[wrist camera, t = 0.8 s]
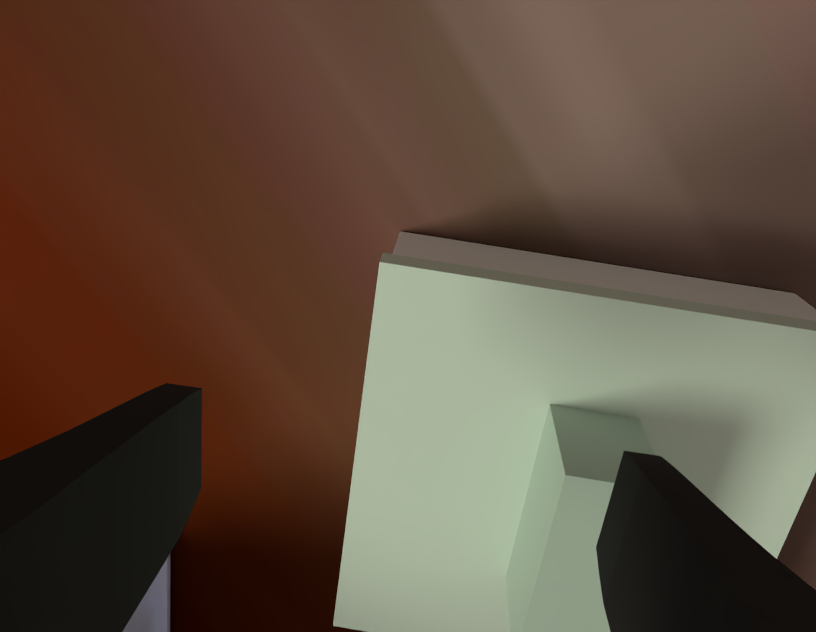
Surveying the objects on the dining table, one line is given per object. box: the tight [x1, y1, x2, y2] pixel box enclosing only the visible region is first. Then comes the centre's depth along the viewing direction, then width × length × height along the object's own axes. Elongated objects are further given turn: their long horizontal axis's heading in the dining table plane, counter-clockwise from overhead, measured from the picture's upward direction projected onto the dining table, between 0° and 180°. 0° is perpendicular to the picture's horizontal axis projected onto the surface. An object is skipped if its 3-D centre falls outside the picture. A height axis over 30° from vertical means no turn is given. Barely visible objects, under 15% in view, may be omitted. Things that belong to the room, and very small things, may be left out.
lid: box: [333, 253, 816, 632], centre depth 19 cm, size 12×12×5 cm
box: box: [393, 231, 816, 321], centre depth 21 cm, size 12×12×3 cm
